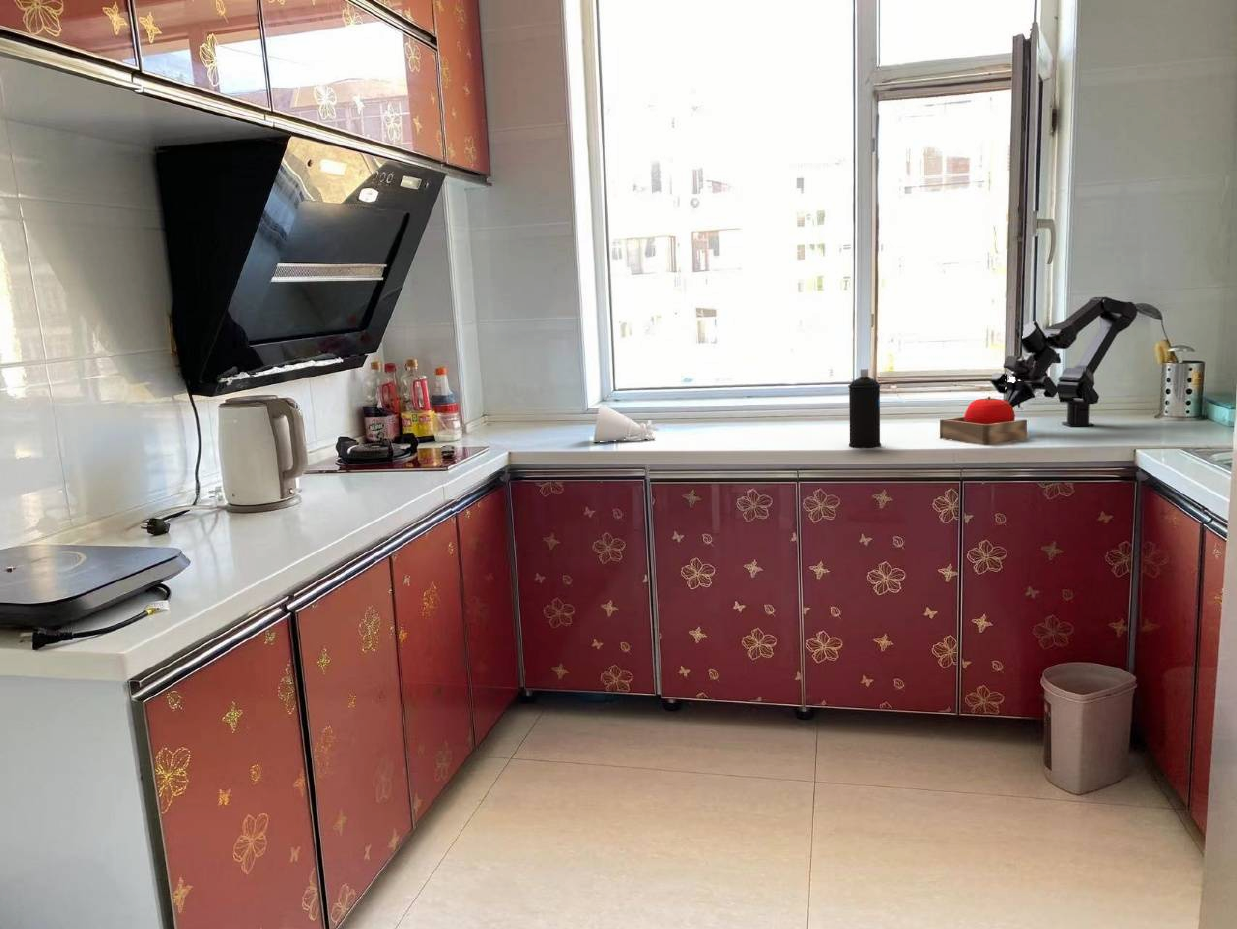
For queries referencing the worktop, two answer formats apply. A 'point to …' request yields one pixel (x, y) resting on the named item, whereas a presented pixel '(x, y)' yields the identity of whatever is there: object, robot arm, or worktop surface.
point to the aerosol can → (864, 412)
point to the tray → (982, 431)
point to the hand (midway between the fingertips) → (1005, 408)
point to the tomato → (989, 411)
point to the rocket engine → (620, 427)
